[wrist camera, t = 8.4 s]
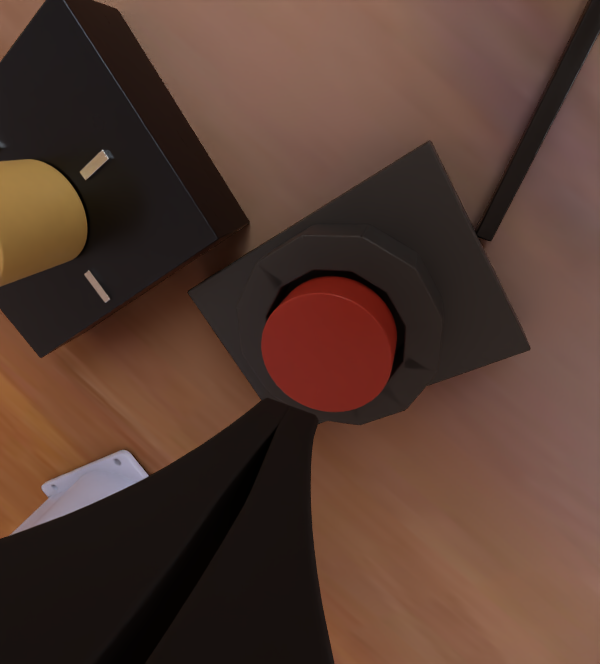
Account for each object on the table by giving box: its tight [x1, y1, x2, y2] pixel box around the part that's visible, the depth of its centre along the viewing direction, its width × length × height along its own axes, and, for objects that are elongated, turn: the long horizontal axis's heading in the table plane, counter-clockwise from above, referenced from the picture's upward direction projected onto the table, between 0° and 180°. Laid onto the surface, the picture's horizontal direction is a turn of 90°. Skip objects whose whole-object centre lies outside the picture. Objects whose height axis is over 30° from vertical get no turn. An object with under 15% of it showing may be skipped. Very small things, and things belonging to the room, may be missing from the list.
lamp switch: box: [261, 276, 397, 412], centre depth 15 cm, size 4×4×2 cm
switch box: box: [188, 140, 530, 425], centre depth 17 cm, size 11×8×4 cm
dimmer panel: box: [0, 0, 250, 358], centre depth 18 cm, size 12×9×3 cm
